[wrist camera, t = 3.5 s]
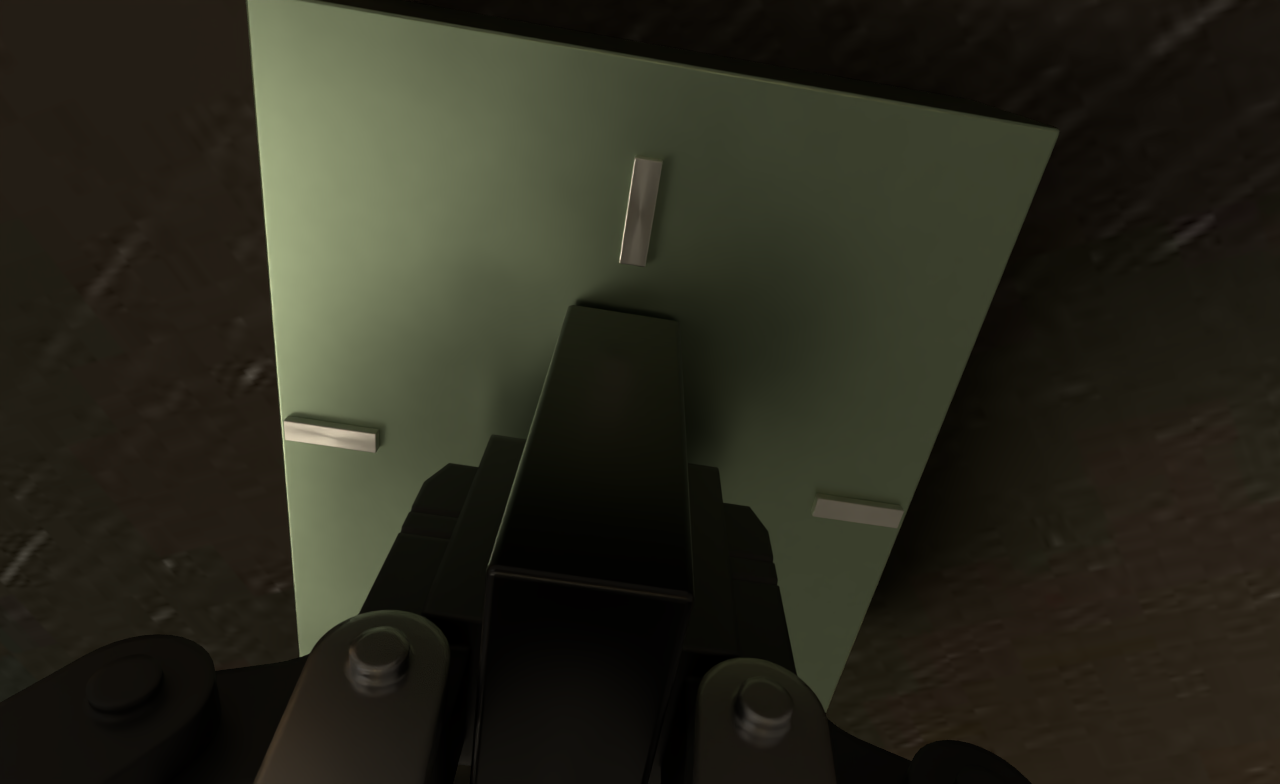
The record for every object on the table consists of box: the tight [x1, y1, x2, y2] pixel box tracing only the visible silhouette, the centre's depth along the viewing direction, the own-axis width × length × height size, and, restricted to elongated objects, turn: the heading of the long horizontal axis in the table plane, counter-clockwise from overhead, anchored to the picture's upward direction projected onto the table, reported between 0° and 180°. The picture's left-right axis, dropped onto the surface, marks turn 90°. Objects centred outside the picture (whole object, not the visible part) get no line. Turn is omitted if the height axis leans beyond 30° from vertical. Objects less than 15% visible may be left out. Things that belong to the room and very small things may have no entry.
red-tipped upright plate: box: [470, 305, 695, 784], centre depth 9 cm, size 6×2×6 cm, turn 171°
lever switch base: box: [246, 0, 1060, 713], centre depth 13 cm, size 12×10×3 cm
